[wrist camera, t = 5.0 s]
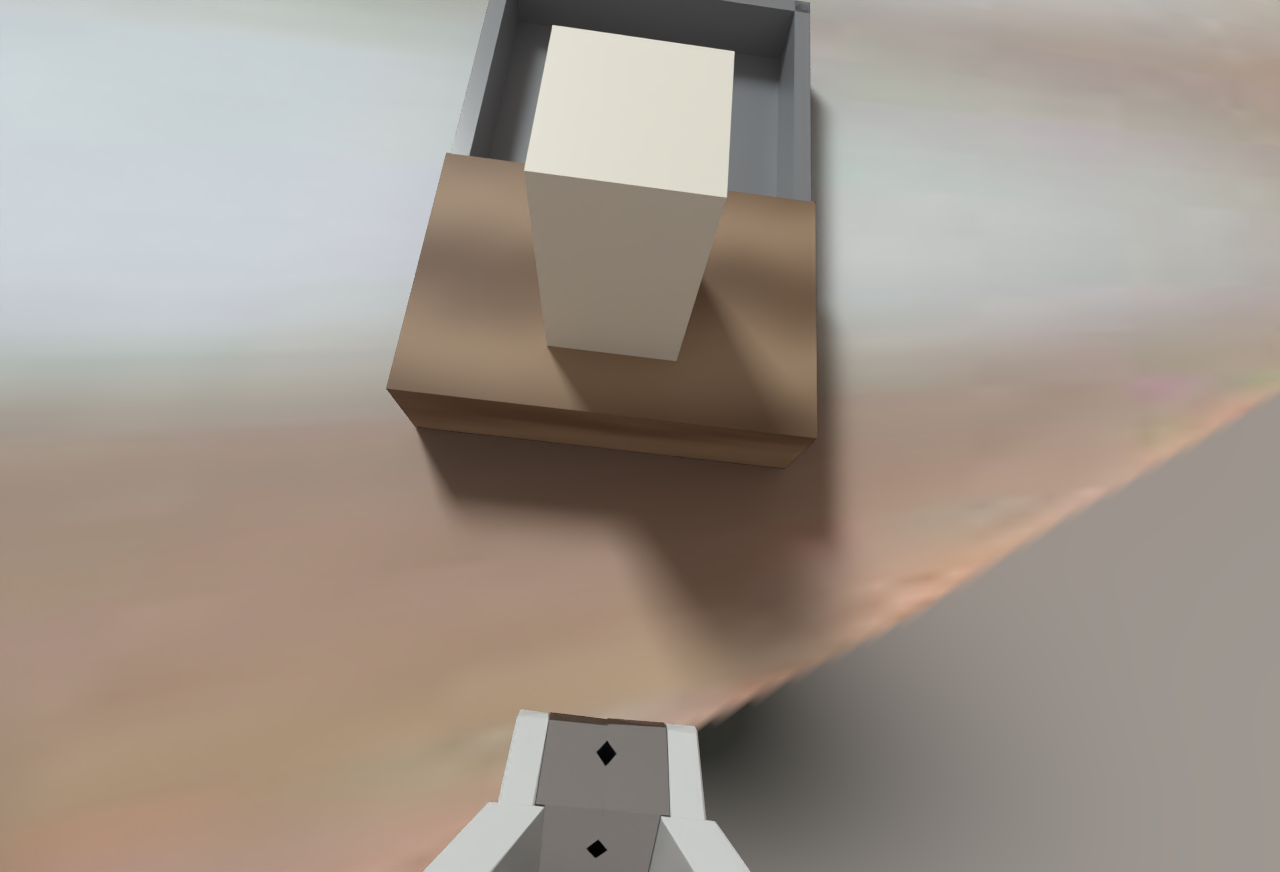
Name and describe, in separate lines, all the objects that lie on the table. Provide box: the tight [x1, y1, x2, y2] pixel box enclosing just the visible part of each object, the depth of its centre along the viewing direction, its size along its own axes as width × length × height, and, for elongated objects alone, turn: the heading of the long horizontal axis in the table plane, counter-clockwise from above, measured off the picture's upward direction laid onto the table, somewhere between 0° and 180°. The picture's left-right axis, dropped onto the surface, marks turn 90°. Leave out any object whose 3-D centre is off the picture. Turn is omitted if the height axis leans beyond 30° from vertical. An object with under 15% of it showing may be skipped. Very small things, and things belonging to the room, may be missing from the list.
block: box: [524, 25, 735, 361], centre depth 20 cm, size 5×5×9 cm
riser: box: [386, 153, 817, 468], centre depth 26 cm, size 11×16×4 cm
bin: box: [451, 0, 811, 202], centre depth 31 cm, size 13×16×4 cm
